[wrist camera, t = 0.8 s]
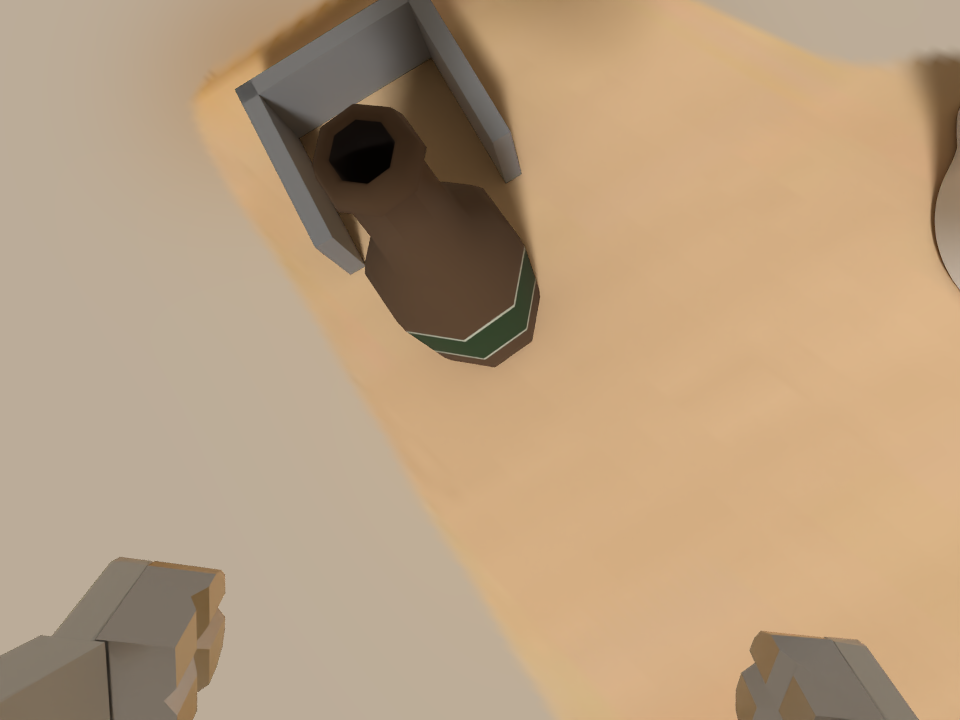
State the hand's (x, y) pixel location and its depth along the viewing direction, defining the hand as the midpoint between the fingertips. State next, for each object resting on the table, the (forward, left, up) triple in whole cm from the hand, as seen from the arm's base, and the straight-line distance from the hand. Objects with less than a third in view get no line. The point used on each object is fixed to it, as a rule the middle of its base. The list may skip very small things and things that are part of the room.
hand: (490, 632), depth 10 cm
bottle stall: (-1, -26, -32) cm, 42 cm away
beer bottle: (-1, -13, -33) cm, 35 cm away
